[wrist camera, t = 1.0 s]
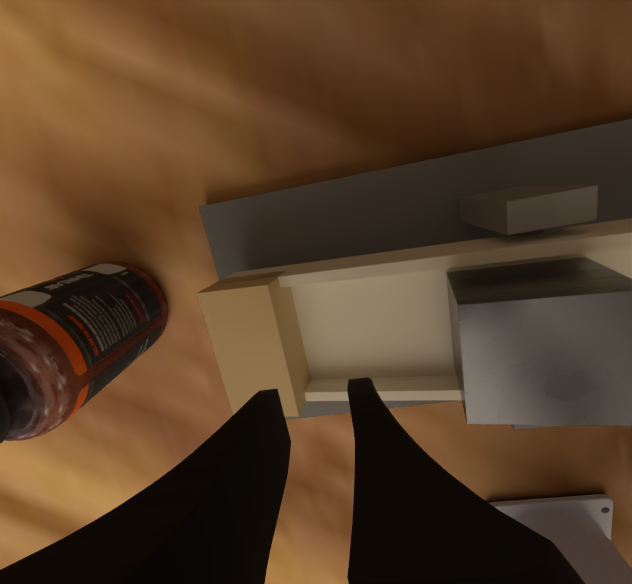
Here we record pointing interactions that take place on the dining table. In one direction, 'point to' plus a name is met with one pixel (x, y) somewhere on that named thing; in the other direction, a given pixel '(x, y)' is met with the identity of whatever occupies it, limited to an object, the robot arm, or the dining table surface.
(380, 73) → the dining table surface
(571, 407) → the rider
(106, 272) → the supplement bottle
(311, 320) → the beam
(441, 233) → the stand
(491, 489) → the dining table surface
